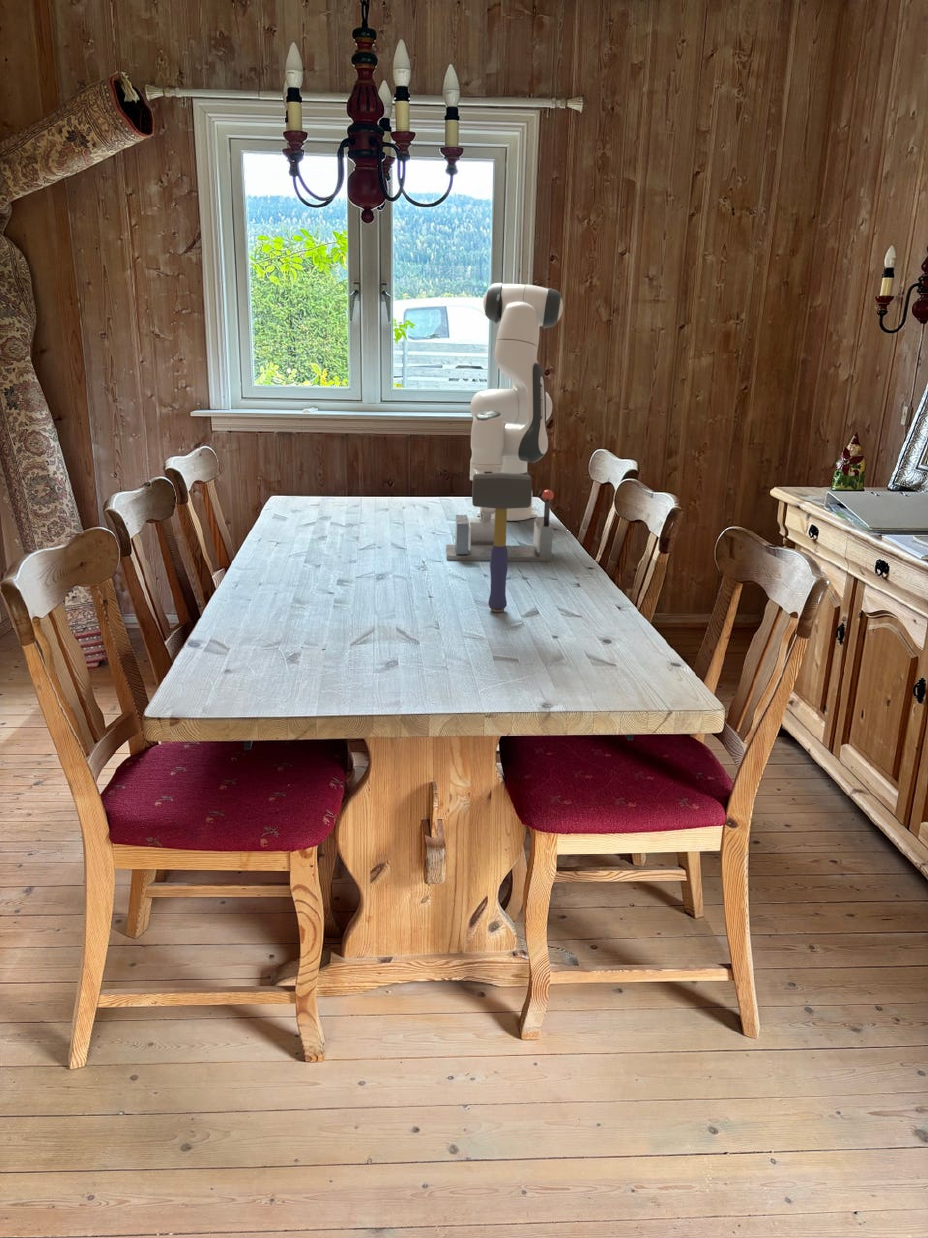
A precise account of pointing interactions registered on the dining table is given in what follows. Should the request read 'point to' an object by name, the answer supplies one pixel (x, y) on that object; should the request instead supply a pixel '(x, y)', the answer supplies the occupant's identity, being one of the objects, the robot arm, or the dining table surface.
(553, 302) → the robot arm
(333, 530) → the dining table surface
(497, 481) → the rubber mallet
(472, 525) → the block
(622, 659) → the dining table surface
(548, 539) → the vise
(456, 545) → the block
